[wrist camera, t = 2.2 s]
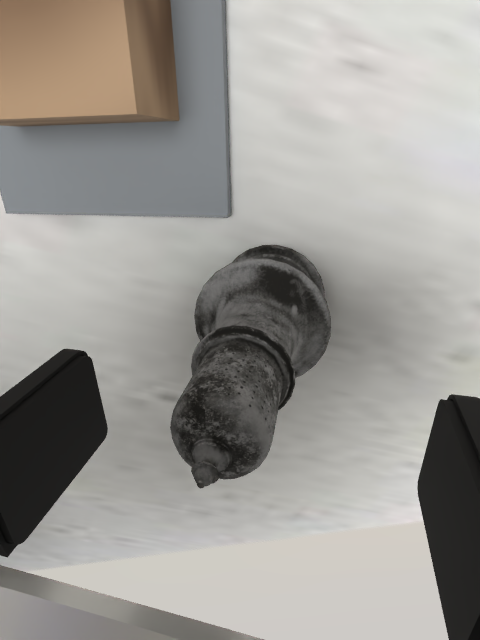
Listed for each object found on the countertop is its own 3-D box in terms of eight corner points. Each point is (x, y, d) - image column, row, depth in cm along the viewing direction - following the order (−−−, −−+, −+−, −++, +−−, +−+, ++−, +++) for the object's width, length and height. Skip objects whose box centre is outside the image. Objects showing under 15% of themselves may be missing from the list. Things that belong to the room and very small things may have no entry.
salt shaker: (228, 350, 21) (126, 561, 10) (204, 247, 19) (42, 383, 8) (335, 342, 19) (345, 582, 9) (324, 229, 17) (317, 368, 7)
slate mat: (230, 215, 18) (228, 217, 17) (14, 211, 20) (6, 213, 20) (215, -343, 11) (209, -367, 10) (-108, -249, 13) (-126, -265, 13)
